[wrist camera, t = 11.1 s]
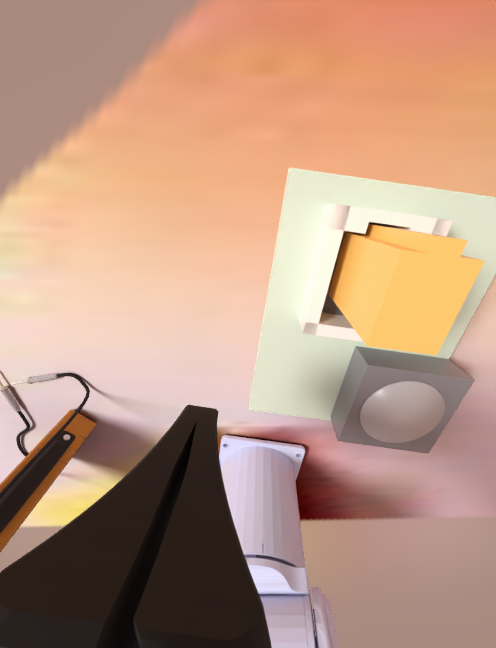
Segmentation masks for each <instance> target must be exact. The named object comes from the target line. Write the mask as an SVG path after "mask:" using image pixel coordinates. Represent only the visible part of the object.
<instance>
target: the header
mask: <svg viewBox="0 0 496 648" xmlns="http://www.w3.org/2000/svg"><path fill="white" fill-rule="evenodd" d="M369 222H375V223H382V224H389V225H391V227H393V228H399V229H405V230H411V231H417V232H423V233H429V234H435V235H440V236H447V234H448V231H449V229H450V227H451V225H452V222H453V221H452V220H445V219H438V218H431V217H424V216H417V215H410V214H403V213H396V212H389V211H382V210H375V209H368V208H362V207H355V206H348V205H341V204H325V209H324V213H323V217H322V221H321V226H320V230H319V234H318V239H317V243H316V247H315V251H314V256H313V260H312V264H311V268H310V273H309V277H308V281H307V285H306V290H305V294H304V298H303V302H302V307H301V311H300V315H299V323H300V326H301V329H302V332H303V334H310V335H317V336H324V337H332V338H339V339H346V340H353V341H360V342H363V340H362V339H361V338H360V336H359V335H358V334H357V332H356V331H355V329H354V328H353V327H352V325H351V324H350V323H349V321H348V320H347V319H346V317H345V316H344V315H343V313H342V312H341V310H340V309H339V308H338V306H337V305H336V304H335V302H334V301H333V300H332V298H331V297H330V296H329V291H330V287H331V283H332V279H333V276H334V272H335V268H336V264H337V261H338V257H339V253H340V249H341V246H342V242H343V238H344V234H345V232H351V233H358V234H360V233H363V234H365V233H366V230H367V227H368V224H369Z"/></svg>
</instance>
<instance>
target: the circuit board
mask: <svg viewBox="0 0 496 648" xmlns="http://www.w3.org/2000/svg"><path fill="white" fill-rule="evenodd" d="M325 204H341V205H348V206H355V207H362V208H368V209H375V210H382V211H389V212H396V213H403V214H410V215H417V216H424V217H431V218H438V219H445V220H452V221H453V222H452V225H451V227H450V229H449V231H448V234H447V236H446V237H452V238H458V239H464V240H468V242H467V244H466V246H465V248H464V250H463V253H462V255H464V256H468V257H472V258H476V259H480V260H484V261H485V262H484V264H483V266H482V268H481V270H480V272H479V274H478V276H477V278H476V280H475V281H474V283H473V285H472V287H471V289H470V291H469V293H468V295H467V297H466V299H465V301H464V303H463V305H462V307H461V309H460V311H459V313H458V315H457V317H456V319H455V321H454V323H453V325H452V327H451V329H450V330H449V332H448V334H447V336H446V338H445V340H444V342H443V344H442V346H441V348H440V350H439V352H438V354H437V355H431V354H423V353H415V352H408V351H400V350H393V349H385V348H377V347H370V346H366V344H365V343H364V342H360V341H353V340H346V339H339V338H332V337H324V336H317V335H310V334H303V332H302V329H301V326H300V323H299V315H300V311H301V307H302V302H303V298H304V294H305V290H306V285H307V281H308V277H309V273H310V268H311V264H312V260H313V256H314V251H315V247H316V243H317V239H318V234H319V230H320V226H321V221H322V217H323V213H324V209H325ZM369 224H373V225H381V226H387V227H391V225H389V224H382V223H375V222H369ZM495 275H496V197H490V196H483V195H476V194H470V193H463V192H456V191H449V190H442V189H435V188H428V187H421V186H414V185H407V184H400V183H393V182H386V181H380V180H373V179H366V178H359V177H352V176H345V175H338V174H331V173H324V172H317V171H310V170H303V169H296V168H289V169H288V174H287V180H286V186H285V192H284V198H283V203H282V209H281V215H280V221H279V227H278V233H277V239H276V245H275V251H274V257H273V263H272V268H271V274H270V280H269V286H268V292H267V298H266V304H265V310H264V316H263V322H262V327H261V333H260V339H259V345H258V351H257V357H256V363H255V369H254V375H253V381H252V386H251V392H250V398H249V405H248V410H254V411H262V412H269V413H276V414H283V415H290V416H298V417H305V418H312V419H319V420H326V421H332V420H331V417H330V416H331V413H332V410H333V407H334V405H335V402H336V399H337V396H338V393H339V390H340V388H341V385H342V382H343V379H344V376H345V374H346V371H347V368H348V365H349V362H350V360H351V357H352V354H353V351H354V348H355V346H360V347H367V348H374V349H381V350H388V351H396V352H403V353H410V354H417V355H424V356H431V357H438V358H445V359H449V358H450V356H451V355H452V353H453V351H454V349H455V347H456V345H457V344H458V342H459V340H460V338H461V336H462V335H463V333H464V331H465V329H466V327H467V325H468V324H469V322H470V320H471V318H472V316H473V315H474V313H475V311H476V309H477V307H478V305H479V304H480V302H481V300H482V298H483V296H484V295H485V293H486V291H487V289H488V287H489V286H490V284H491V282H492V280H493V278H494V276H495Z"/></svg>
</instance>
